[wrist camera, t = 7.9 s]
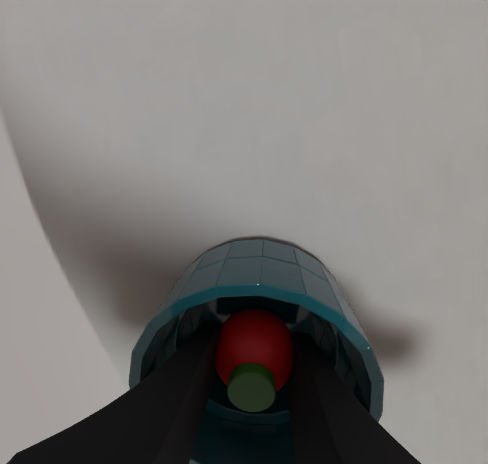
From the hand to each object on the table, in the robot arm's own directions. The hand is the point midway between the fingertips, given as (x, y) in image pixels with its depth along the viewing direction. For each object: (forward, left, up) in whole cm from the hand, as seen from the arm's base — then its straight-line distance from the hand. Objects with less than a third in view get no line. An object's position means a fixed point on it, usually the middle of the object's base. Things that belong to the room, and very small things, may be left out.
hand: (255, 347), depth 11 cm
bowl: (0, 0, -2) cm, 2 cm away
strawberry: (0, 0, -1) cm, 1 cm away
